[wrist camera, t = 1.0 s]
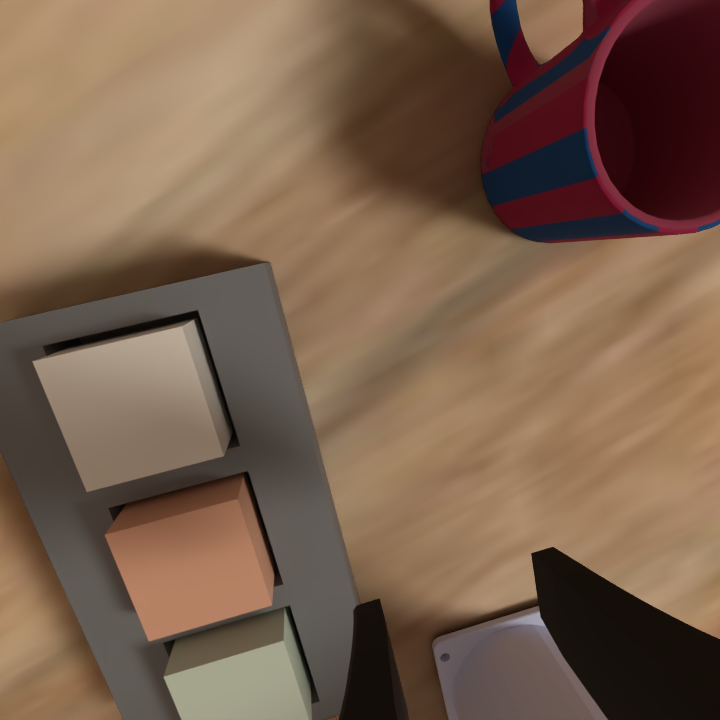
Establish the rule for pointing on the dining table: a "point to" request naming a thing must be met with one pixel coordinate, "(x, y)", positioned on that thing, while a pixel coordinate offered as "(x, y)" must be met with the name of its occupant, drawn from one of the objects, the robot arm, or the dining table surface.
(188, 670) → the sage key
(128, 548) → the terracotta key
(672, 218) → the mug
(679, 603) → the dining table surface
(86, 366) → the cream key
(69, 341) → the key panel
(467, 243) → the dining table surface
